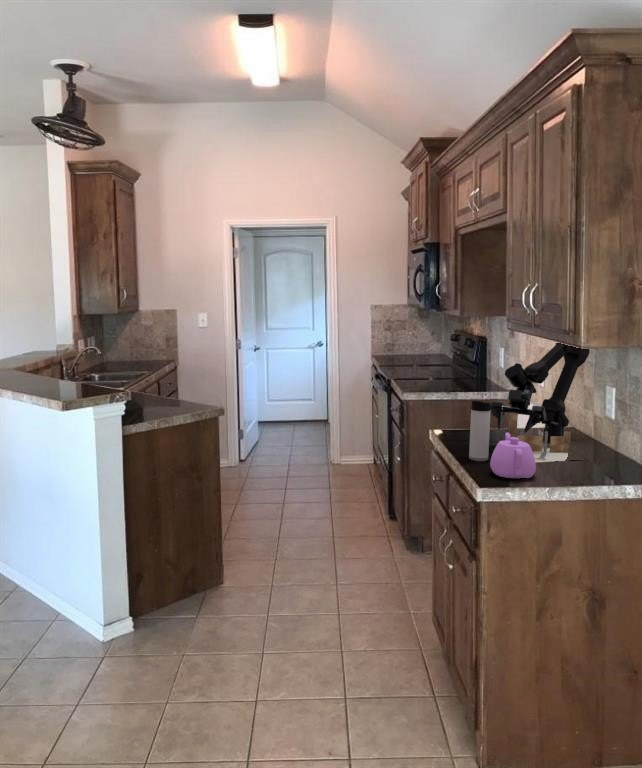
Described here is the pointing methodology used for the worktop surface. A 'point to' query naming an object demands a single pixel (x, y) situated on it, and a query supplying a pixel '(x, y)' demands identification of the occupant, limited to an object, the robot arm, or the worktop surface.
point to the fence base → (558, 442)
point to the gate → (533, 441)
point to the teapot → (513, 459)
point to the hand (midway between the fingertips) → (511, 430)
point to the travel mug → (479, 431)
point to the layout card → (549, 456)
